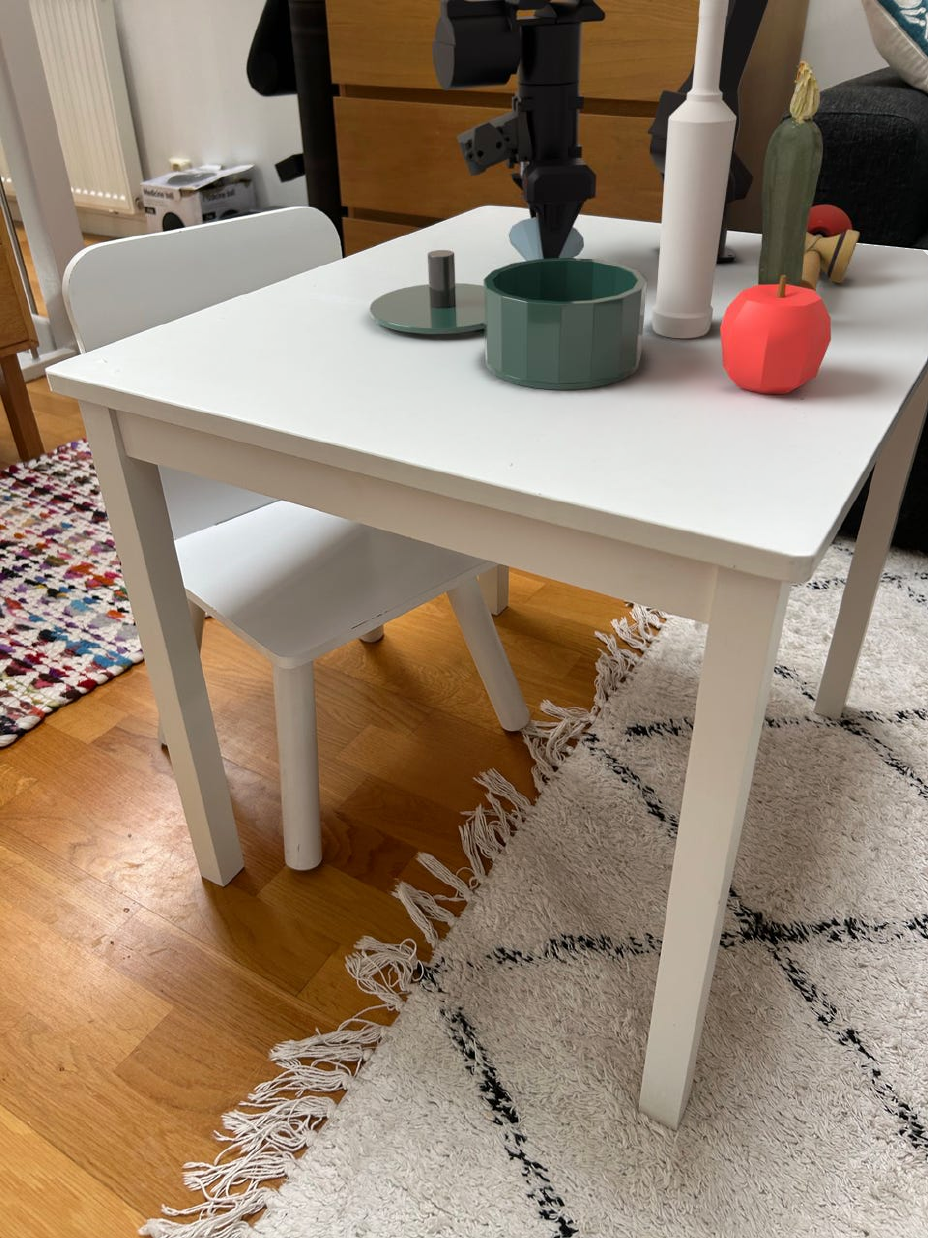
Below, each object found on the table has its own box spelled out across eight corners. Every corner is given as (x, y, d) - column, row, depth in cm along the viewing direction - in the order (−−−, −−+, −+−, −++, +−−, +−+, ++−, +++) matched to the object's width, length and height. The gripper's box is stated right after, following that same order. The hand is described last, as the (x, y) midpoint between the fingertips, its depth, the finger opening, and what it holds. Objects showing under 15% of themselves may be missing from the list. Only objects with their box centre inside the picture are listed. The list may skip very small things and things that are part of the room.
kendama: (846, 329, 86) (866, 250, 98) (846, 260, 82) (866, 186, 94) (757, 335, 89) (786, 258, 101) (753, 269, 85) (784, 197, 97)
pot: (479, 339, 83) (478, 261, 79) (621, 331, 83) (627, 254, 80) (493, 393, 73) (492, 307, 69) (654, 385, 73) (662, 299, 69)
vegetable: (795, 335, 81) (841, 64, 70) (742, 333, 82) (780, 65, 71) (791, 318, 85) (835, 58, 73) (741, 316, 86) (776, 59, 74)
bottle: (717, 323, 84) (759, -17, 70) (703, 342, 81) (744, -14, 66) (659, 317, 86) (689, -16, 72) (643, 335, 82) (671, -13, 68)
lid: (371, 297, 93) (366, 237, 90) (507, 291, 94) (507, 231, 91) (370, 344, 83) (364, 278, 79) (524, 336, 83) (525, 270, 80)
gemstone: (566, 251, 90) (574, 204, 91) (491, 257, 93) (499, 210, 94) (587, 294, 97) (594, 249, 98) (516, 298, 100) (523, 254, 101)
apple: (828, 371, 74) (849, 265, 70) (813, 410, 69) (835, 297, 64) (724, 359, 77) (738, 256, 73) (702, 395, 71) (715, 285, 67)
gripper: (454, 74, 95) (460, 239, 104) (468, 99, 80) (473, 289, 89) (566, 69, 95) (561, 233, 104) (601, 93, 80) (592, 283, 89)
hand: (545, 258), depth 97 cm, fingers closed on gemstone, 5 cm apart
